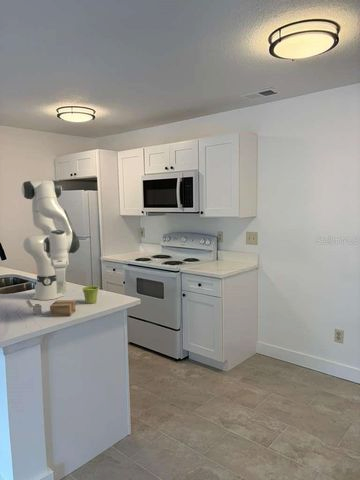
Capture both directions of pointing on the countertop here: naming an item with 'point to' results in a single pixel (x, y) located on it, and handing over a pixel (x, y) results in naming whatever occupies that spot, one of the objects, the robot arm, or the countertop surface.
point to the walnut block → (62, 308)
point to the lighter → (35, 308)
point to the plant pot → (90, 294)
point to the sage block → (61, 289)
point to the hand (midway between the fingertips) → (61, 287)
